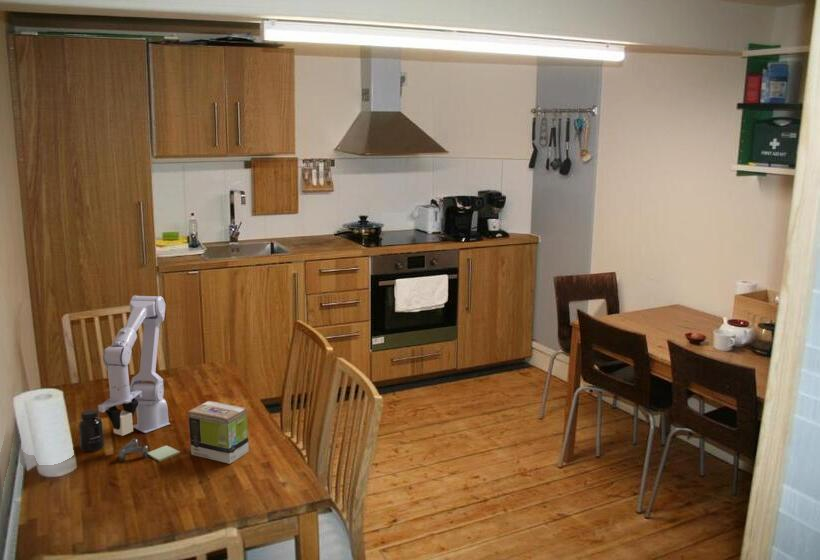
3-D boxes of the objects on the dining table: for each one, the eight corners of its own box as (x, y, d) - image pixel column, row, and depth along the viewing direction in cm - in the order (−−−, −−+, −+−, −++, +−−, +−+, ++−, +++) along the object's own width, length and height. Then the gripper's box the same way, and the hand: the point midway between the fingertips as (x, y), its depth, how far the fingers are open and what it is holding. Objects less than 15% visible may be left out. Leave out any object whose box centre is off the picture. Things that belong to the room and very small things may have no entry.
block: (124, 428, 233) (123, 410, 231) (133, 431, 231) (131, 413, 229) (113, 432, 229) (112, 414, 228) (122, 435, 227) (120, 417, 226)
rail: (136, 448, 233) (135, 438, 232) (151, 456, 228) (150, 445, 227) (113, 457, 227) (112, 446, 226) (128, 465, 222) (127, 454, 221)
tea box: (250, 451, 232) (247, 407, 228) (229, 465, 223) (227, 419, 219) (211, 442, 238) (208, 398, 234) (189, 455, 229) (186, 410, 225)
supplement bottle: (95, 453, 230) (92, 417, 227) (76, 451, 231) (72, 415, 228) (108, 443, 236) (105, 408, 233) (89, 441, 238) (86, 406, 235)
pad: (166, 446, 234) (166, 445, 234) (179, 453, 230) (179, 451, 230) (146, 454, 229) (146, 453, 229) (159, 461, 225) (159, 459, 224)
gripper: (107, 394, 218) (111, 437, 222) (147, 379, 231) (150, 420, 234) (92, 390, 222) (96, 432, 225) (132, 375, 234) (135, 415, 237)
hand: (122, 425), depth 230 cm, fingers closed on block, 4 cm apart
